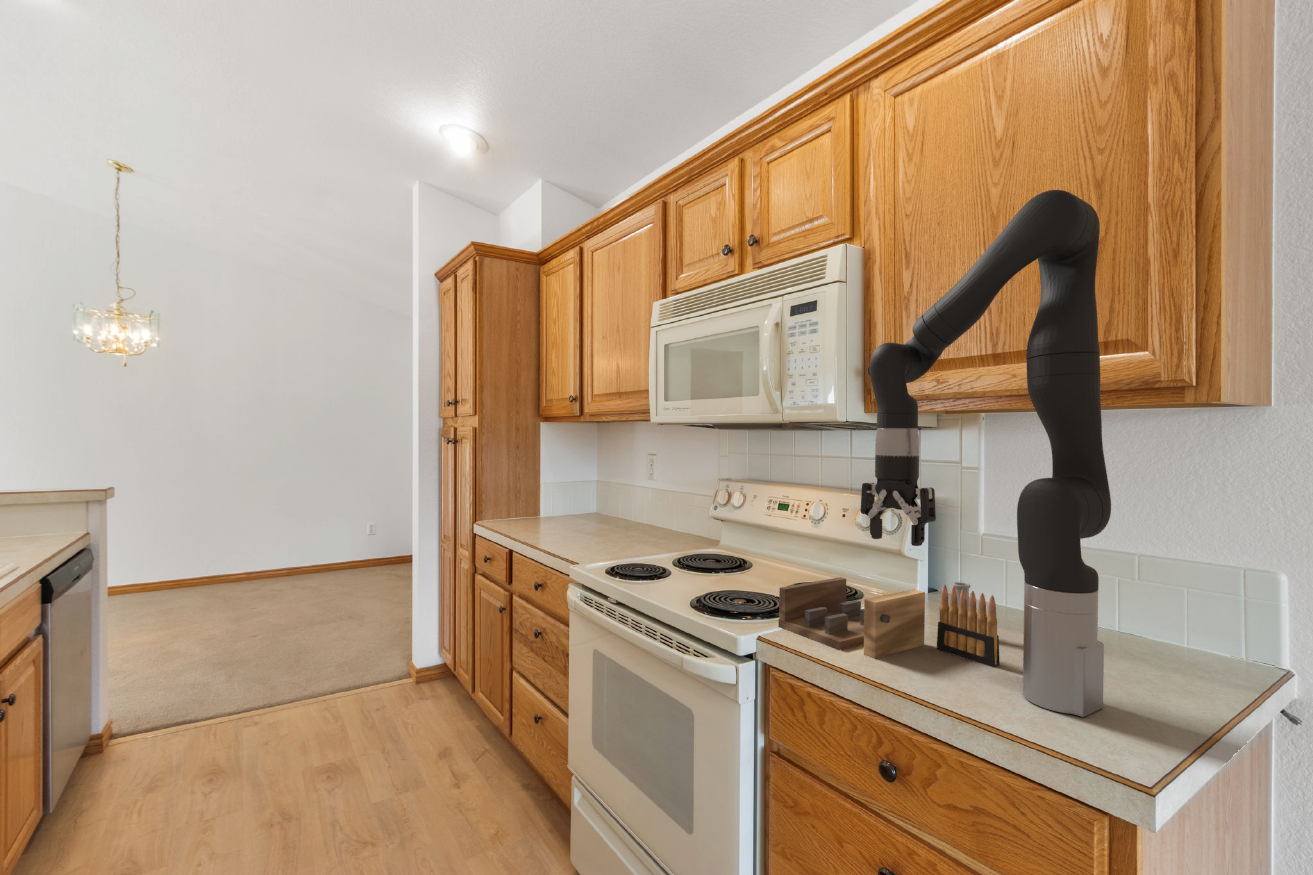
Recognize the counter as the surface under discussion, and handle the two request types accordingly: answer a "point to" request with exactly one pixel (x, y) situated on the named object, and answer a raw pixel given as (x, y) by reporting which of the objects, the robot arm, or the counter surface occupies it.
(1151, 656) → the counter surface
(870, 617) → the door
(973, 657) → the ammunition clip
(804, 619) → the brown wooden base
